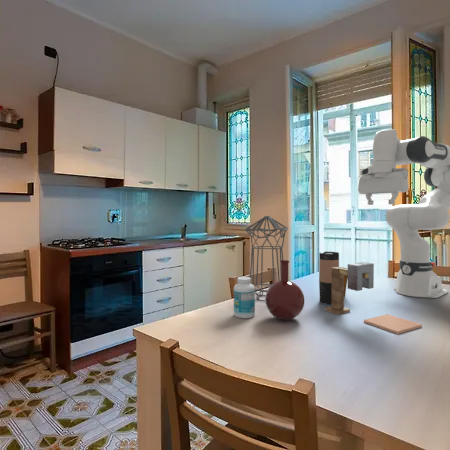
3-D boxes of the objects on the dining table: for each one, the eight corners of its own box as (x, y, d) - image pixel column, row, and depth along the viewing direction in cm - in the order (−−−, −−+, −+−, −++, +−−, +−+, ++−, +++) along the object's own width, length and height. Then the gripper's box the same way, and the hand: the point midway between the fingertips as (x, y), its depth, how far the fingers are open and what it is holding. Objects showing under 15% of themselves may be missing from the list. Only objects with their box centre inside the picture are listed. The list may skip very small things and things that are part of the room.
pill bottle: (232, 312, 122) (232, 276, 121) (253, 312, 123) (252, 275, 122) (235, 319, 115) (234, 280, 114) (256, 318, 115) (256, 279, 115)
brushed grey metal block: (363, 285, 117) (363, 262, 117) (373, 287, 113) (373, 263, 113) (347, 288, 113) (347, 264, 113) (357, 290, 110) (357, 265, 109)
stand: (337, 307, 127) (337, 265, 126) (372, 319, 113) (372, 272, 112) (325, 310, 124) (325, 267, 123) (360, 322, 110) (360, 274, 109)
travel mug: (340, 305, 130) (340, 254, 129) (319, 304, 131) (319, 253, 130) (337, 300, 137) (337, 251, 136) (318, 299, 139) (318, 251, 138)
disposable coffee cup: (348, 294, 146) (349, 267, 146) (349, 300, 137) (349, 271, 137) (326, 292, 149) (326, 266, 149) (325, 298, 140) (325, 269, 140)
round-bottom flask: (303, 313, 120) (303, 258, 119) (305, 326, 107) (305, 264, 106) (266, 312, 122) (266, 258, 121) (264, 324, 109) (264, 263, 108)
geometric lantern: (244, 301, 137) (243, 216, 136) (255, 293, 151) (254, 216, 151) (282, 304, 131) (281, 215, 130) (290, 296, 145) (289, 215, 145)
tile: (387, 316, 116) (387, 314, 116) (421, 326, 105) (421, 324, 105) (363, 322, 110) (363, 319, 110) (397, 334, 100) (397, 331, 100)
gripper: (413, 168, 126) (410, 204, 126) (367, 173, 144) (364, 205, 144) (402, 165, 123) (400, 203, 123) (356, 171, 141) (354, 204, 141)
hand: (380, 204), depth 133 cm, fingers open, 8 cm apart
